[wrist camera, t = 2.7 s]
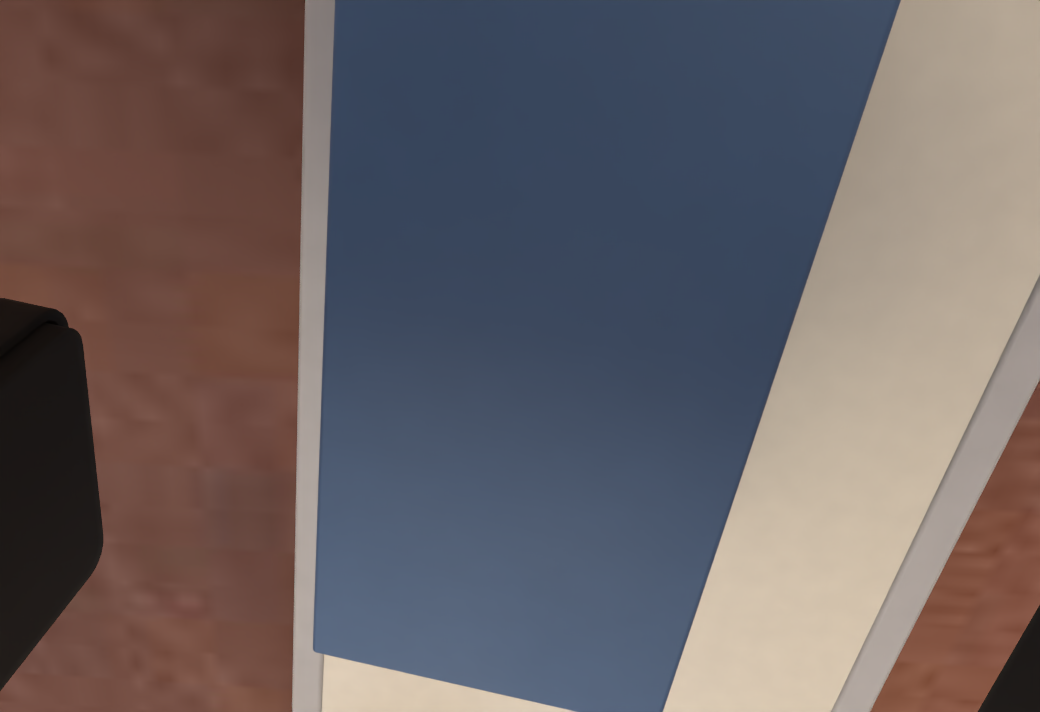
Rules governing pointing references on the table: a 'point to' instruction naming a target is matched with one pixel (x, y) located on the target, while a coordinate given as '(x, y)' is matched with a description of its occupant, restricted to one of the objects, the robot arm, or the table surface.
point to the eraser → (561, 319)
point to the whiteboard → (810, 385)
